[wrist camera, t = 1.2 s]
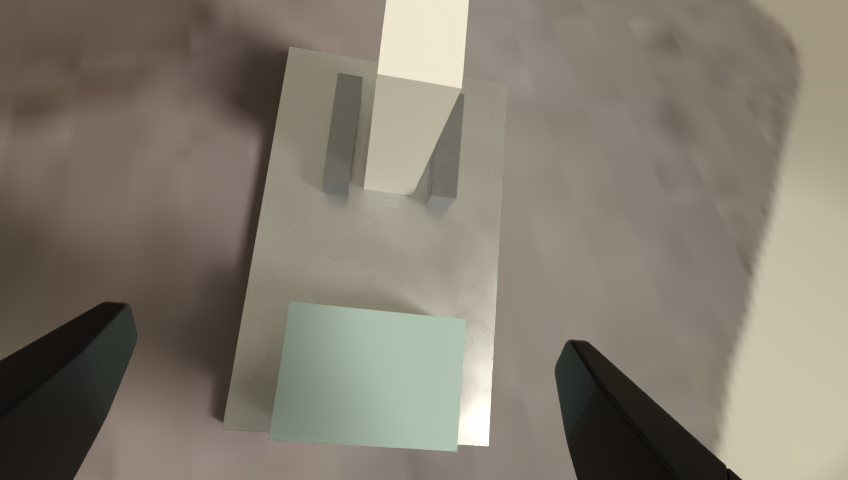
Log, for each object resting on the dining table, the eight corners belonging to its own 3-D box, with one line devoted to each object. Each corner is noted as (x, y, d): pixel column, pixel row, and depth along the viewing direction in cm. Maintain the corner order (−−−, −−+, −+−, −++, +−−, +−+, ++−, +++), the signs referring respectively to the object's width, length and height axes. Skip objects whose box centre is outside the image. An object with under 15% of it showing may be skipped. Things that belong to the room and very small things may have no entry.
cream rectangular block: (412, 195, 24) (461, 88, 14) (363, 188, 23) (377, 73, 13) (420, 115, 25) (471, -39, 15) (373, 108, 24) (393, -56, 14)
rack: (482, 441, 23) (502, 456, 20) (227, 425, 21) (209, 439, 18) (501, 94, 27) (520, 64, 24) (291, 57, 25) (284, 21, 22)
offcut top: (446, 440, 20) (457, 451, 18) (276, 429, 19) (268, 439, 17) (455, 321, 21) (466, 319, 19) (295, 305, 20) (290, 301, 18)
